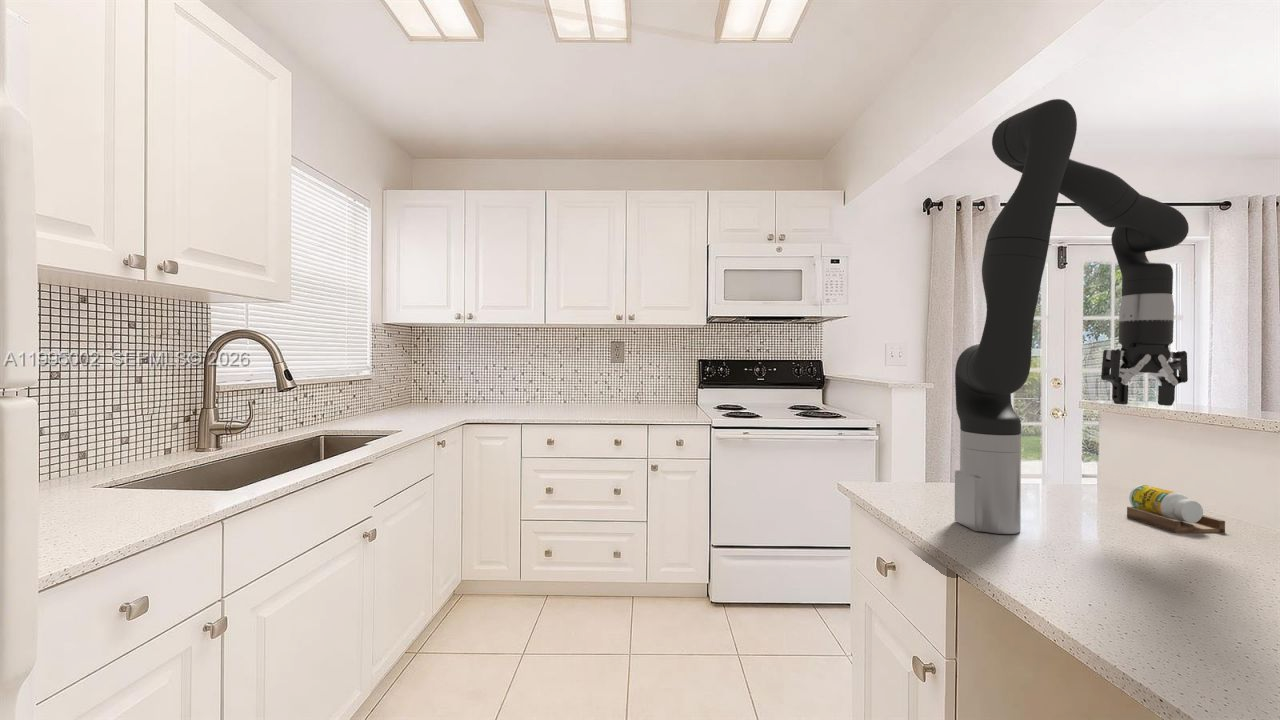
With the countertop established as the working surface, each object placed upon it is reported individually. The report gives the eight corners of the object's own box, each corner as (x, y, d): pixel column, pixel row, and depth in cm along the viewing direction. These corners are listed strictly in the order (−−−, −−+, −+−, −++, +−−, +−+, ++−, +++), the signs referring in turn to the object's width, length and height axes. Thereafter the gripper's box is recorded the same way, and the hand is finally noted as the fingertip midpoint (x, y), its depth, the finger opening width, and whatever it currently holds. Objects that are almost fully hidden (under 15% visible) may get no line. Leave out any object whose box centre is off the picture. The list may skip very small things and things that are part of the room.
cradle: (1174, 532, 93) (1174, 521, 93) (1126, 517, 102) (1127, 506, 102) (1225, 532, 94) (1225, 520, 94) (1172, 516, 103) (1173, 506, 103)
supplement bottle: (1149, 515, 104) (1200, 531, 94) (1123, 505, 104) (1172, 521, 94) (1159, 489, 104) (1211, 503, 94) (1133, 479, 104) (1183, 493, 94)
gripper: (1126, 317, 97) (1123, 406, 97) (1204, 319, 97) (1201, 407, 97) (1091, 320, 105) (1088, 402, 105) (1163, 321, 105) (1160, 403, 105)
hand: (1143, 404), depth 101 cm, fingers open, 8 cm apart
